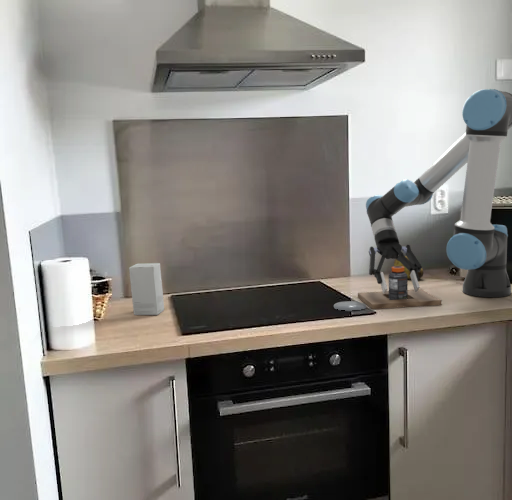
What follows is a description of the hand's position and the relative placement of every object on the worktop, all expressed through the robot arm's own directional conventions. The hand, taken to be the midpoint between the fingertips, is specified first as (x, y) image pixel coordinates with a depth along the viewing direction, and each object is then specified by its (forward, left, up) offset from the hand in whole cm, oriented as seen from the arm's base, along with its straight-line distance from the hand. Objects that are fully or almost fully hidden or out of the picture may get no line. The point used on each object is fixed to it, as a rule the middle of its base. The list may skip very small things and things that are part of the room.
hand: (401, 290), depth 179 cm
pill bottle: (0, -3, -4) cm, 5 cm away
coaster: (+17, +1, -4) cm, 18 cm away
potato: (-16, -37, -4) cm, 41 cm away
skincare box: (+80, -7, -4) cm, 80 cm away
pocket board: (0, -3, -4) cm, 5 cm away
